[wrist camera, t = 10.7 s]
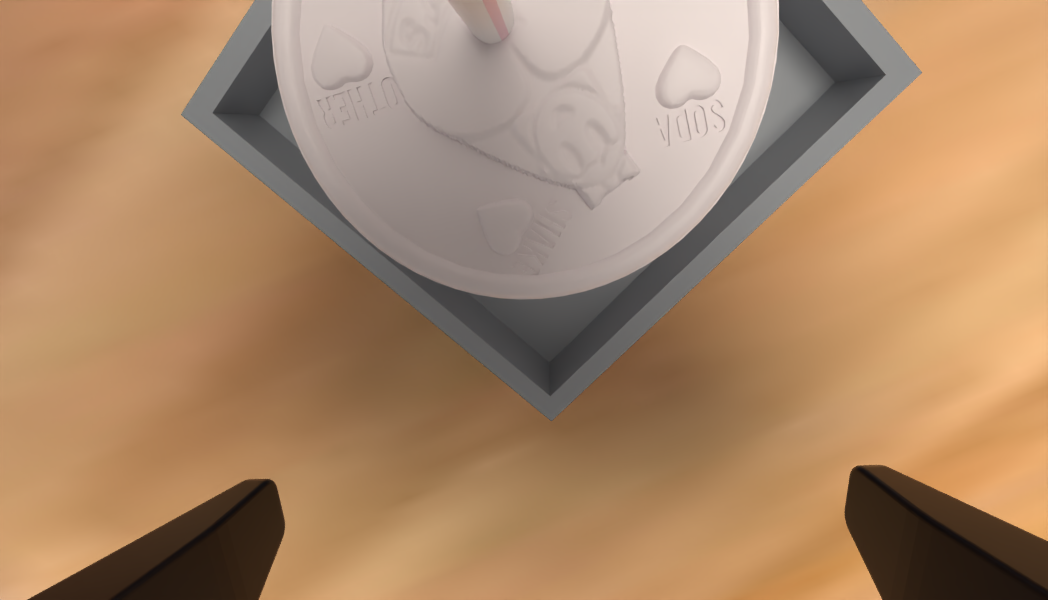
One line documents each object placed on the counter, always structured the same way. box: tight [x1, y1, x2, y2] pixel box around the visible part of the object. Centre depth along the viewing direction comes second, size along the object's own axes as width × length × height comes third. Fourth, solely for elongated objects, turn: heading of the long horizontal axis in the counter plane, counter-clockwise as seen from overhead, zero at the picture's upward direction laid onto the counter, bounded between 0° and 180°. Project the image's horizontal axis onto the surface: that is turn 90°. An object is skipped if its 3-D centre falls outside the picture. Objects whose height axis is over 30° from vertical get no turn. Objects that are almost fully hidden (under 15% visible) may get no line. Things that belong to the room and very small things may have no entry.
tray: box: [181, 0, 922, 421], centre depth 15 cm, size 13×13×3 cm
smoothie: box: [271, 0, 779, 300], centre depth 9 cm, size 6×6×14 cm
